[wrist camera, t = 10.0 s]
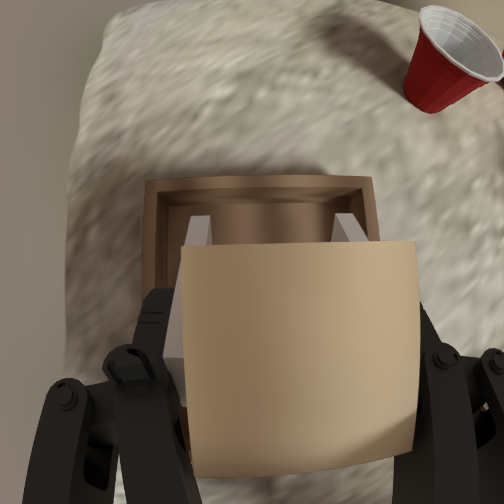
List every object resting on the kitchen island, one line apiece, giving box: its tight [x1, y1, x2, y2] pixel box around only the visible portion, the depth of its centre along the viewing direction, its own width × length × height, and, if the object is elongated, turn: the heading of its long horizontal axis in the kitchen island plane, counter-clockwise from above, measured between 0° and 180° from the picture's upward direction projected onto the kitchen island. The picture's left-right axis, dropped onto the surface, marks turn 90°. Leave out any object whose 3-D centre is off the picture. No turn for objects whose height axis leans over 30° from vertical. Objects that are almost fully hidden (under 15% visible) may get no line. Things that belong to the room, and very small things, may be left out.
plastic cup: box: [403, 5, 504, 114], centre depth 25 cm, size 11×11×12 cm
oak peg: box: [181, 241, 420, 478], centre depth 11 cm, size 5×5×10 cm
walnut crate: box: [142, 175, 380, 461], centre depth 24 cm, size 18×22×5 cm
